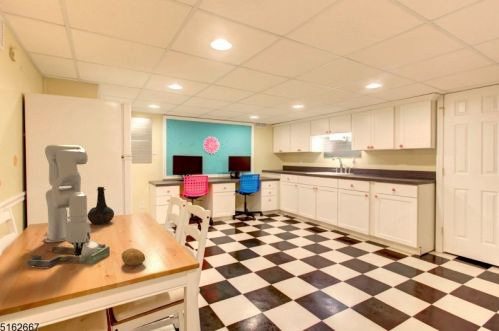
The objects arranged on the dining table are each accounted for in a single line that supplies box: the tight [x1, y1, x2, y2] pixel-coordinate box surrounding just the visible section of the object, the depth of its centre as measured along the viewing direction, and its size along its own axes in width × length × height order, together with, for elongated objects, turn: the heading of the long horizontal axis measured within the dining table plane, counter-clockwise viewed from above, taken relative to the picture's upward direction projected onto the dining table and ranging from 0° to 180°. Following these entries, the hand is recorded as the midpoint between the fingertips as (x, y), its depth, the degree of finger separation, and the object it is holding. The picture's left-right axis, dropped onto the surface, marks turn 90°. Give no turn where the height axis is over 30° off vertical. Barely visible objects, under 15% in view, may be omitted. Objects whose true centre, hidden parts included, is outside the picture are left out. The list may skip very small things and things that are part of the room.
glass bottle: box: [87, 186, 115, 226], centre depth 198 cm, size 18×18×28 cm
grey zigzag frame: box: [27, 243, 111, 269], centre depth 132 cm, size 32×24×4 cm
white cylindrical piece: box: [80, 239, 100, 257], centre depth 130 cm, size 7×7×7 cm
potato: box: [121, 247, 146, 267], centre depth 124 cm, size 9×13×7 cm
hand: (79, 254), depth 131 cm, fingers closed
